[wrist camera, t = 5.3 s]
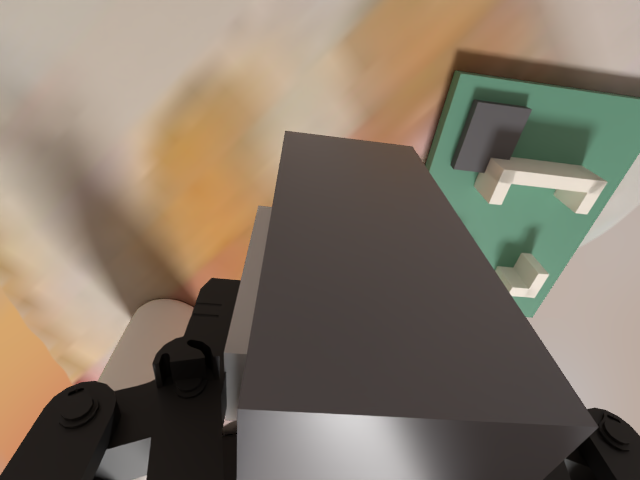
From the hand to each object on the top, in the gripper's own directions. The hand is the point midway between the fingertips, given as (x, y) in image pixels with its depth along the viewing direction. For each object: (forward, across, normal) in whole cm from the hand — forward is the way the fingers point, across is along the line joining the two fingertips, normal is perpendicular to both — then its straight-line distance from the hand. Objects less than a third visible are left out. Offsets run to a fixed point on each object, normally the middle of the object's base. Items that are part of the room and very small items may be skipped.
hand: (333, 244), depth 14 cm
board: (+16, +17, -6) cm, 24 cm away
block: (+1, 0, 0) cm, 1 cm away
